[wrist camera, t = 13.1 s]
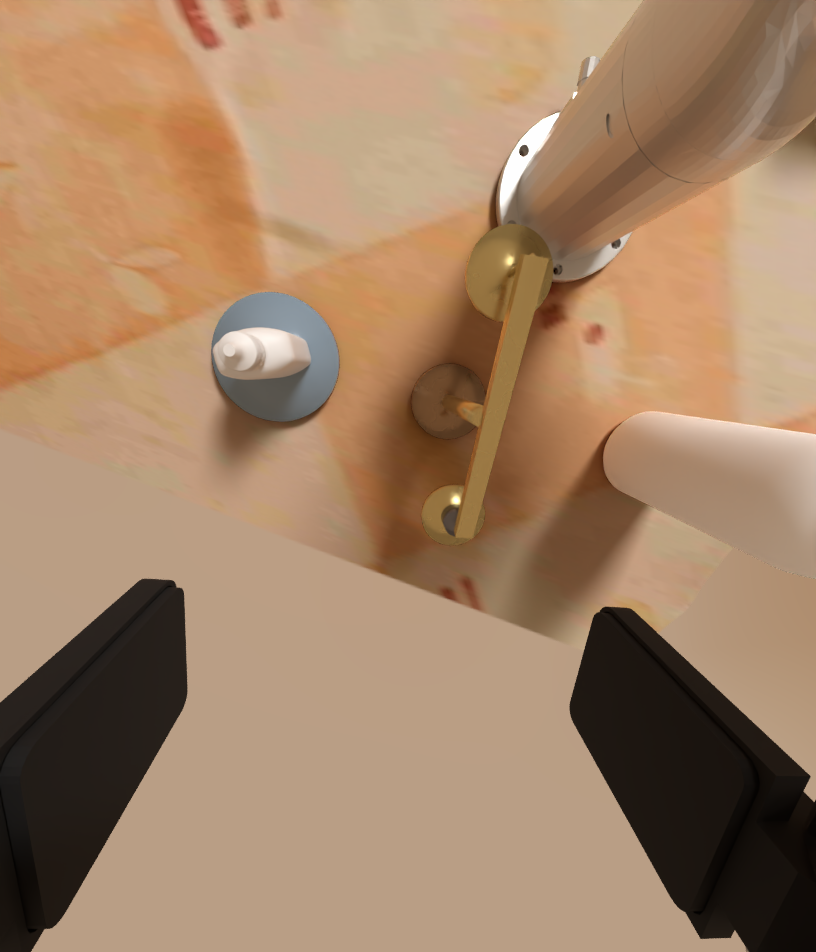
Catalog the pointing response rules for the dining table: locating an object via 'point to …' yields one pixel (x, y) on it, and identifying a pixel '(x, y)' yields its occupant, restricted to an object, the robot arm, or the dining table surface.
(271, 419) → the grey flat round piece
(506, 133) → the dining table surface
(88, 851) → the robot arm
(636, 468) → the alcohol
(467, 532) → the balance
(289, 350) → the eye dropper bottle
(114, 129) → the dining table surface
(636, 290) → the dining table surface
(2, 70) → the dining table surface
